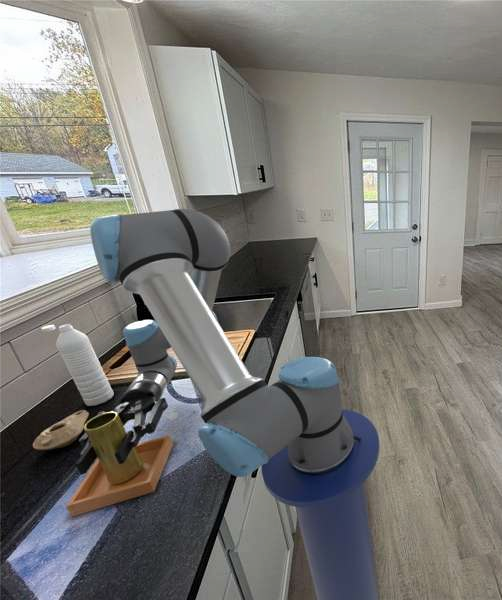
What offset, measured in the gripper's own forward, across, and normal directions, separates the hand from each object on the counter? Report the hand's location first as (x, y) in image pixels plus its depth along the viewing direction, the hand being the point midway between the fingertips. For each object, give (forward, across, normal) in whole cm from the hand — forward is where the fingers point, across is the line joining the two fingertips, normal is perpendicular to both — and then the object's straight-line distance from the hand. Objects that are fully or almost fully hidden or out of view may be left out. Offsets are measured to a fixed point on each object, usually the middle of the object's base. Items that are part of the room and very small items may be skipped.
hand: (100, 463), depth 61 cm
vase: (-5, 0, -8) cm, 10 cm away
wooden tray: (-5, 0, -9) cm, 11 cm away
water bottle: (-42, +21, -10) cm, 48 cm away
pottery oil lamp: (-25, +19, -10) cm, 33 cm away
